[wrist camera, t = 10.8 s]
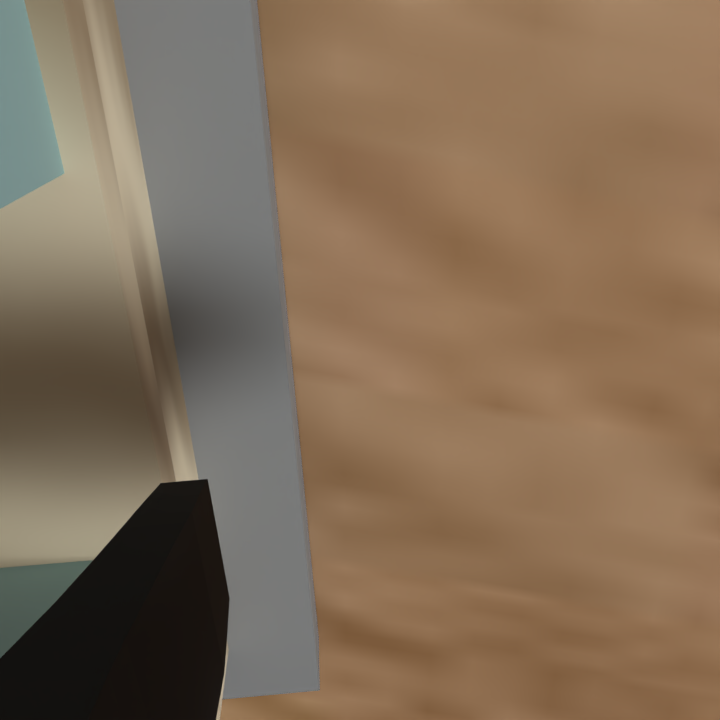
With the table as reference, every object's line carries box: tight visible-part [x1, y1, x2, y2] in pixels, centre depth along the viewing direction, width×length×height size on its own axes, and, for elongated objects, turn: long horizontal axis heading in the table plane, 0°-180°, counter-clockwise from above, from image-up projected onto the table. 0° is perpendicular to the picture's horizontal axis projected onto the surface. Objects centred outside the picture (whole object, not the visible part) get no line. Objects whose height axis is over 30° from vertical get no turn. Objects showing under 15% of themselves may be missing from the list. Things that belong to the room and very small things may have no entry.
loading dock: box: [114, 0, 320, 699], centre depth 16 cm, size 24×10×2 cm, turn 2°
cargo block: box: [0, 560, 93, 658], centre depth 13 cm, size 4×4×4 cm
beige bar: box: [0, 0, 229, 720], centre depth 14 cm, size 20×5×3 cm, turn 2°
